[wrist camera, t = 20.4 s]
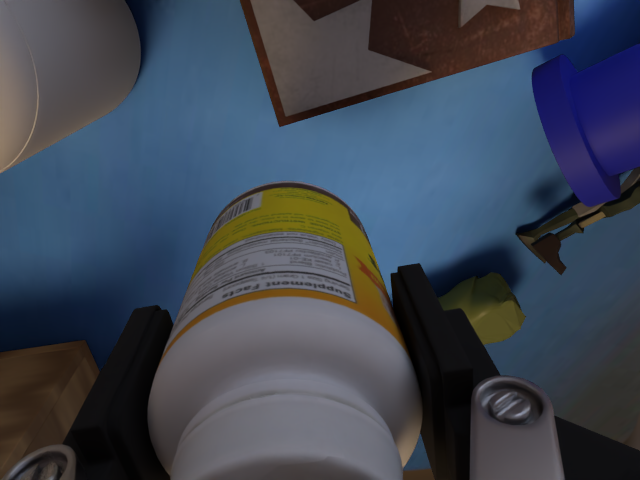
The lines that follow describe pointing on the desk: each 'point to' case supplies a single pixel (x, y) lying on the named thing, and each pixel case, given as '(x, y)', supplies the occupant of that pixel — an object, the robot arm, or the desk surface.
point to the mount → (592, 121)
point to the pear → (486, 306)
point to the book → (387, 44)
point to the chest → (41, 396)
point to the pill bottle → (61, 69)
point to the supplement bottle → (285, 351)
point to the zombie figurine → (579, 222)
